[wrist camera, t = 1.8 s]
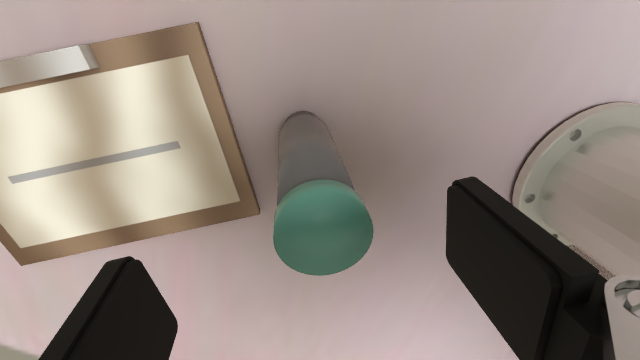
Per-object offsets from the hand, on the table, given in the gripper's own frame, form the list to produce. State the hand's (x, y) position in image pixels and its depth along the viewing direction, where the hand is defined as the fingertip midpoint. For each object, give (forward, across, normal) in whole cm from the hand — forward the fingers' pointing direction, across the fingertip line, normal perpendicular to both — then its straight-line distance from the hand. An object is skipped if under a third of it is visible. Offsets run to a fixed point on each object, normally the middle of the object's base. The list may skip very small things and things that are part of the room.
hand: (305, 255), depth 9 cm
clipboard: (+13, +12, -1) cm, 18 cm away
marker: (+13, -1, 0) cm, 13 cm away
